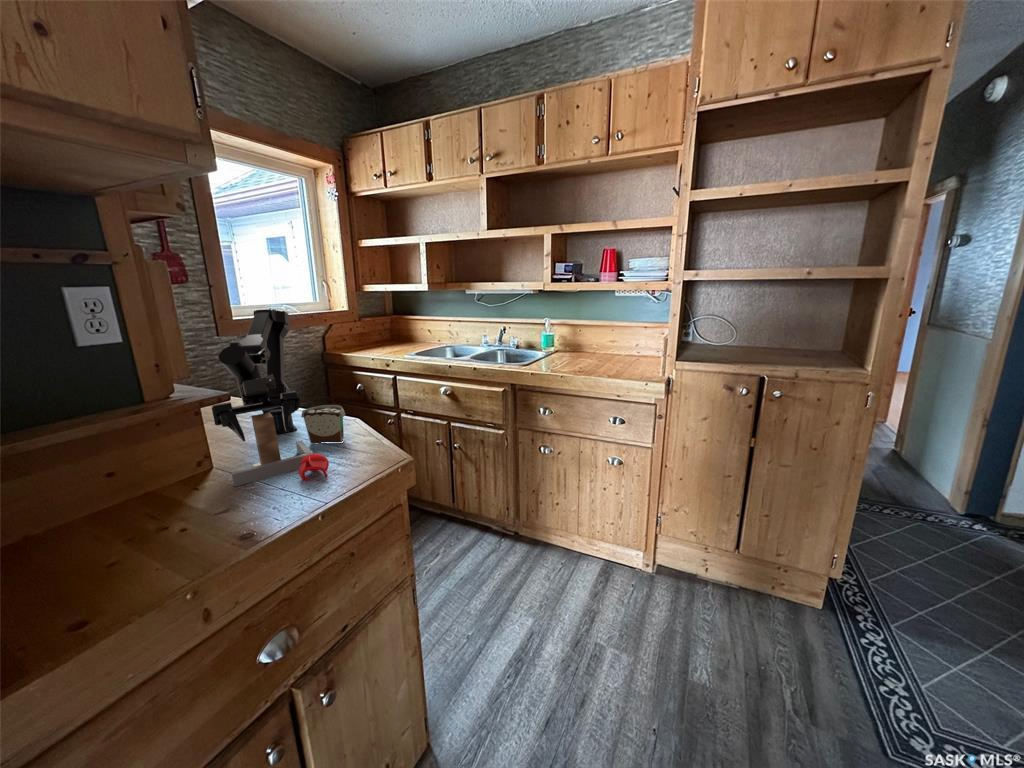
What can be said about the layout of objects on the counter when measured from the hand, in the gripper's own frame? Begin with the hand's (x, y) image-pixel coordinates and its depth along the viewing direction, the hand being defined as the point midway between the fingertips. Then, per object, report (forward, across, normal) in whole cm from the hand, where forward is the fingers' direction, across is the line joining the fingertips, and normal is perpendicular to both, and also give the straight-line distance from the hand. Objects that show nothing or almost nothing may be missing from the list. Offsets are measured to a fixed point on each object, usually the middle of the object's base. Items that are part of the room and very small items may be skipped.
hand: (266, 435), depth 100 cm
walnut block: (+5, 0, +7) cm, 8 cm away
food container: (-1, +17, +14) cm, 22 cm away
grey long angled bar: (+5, 0, +7) cm, 9 cm away
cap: (+15, +7, -3) cm, 17 cm away
